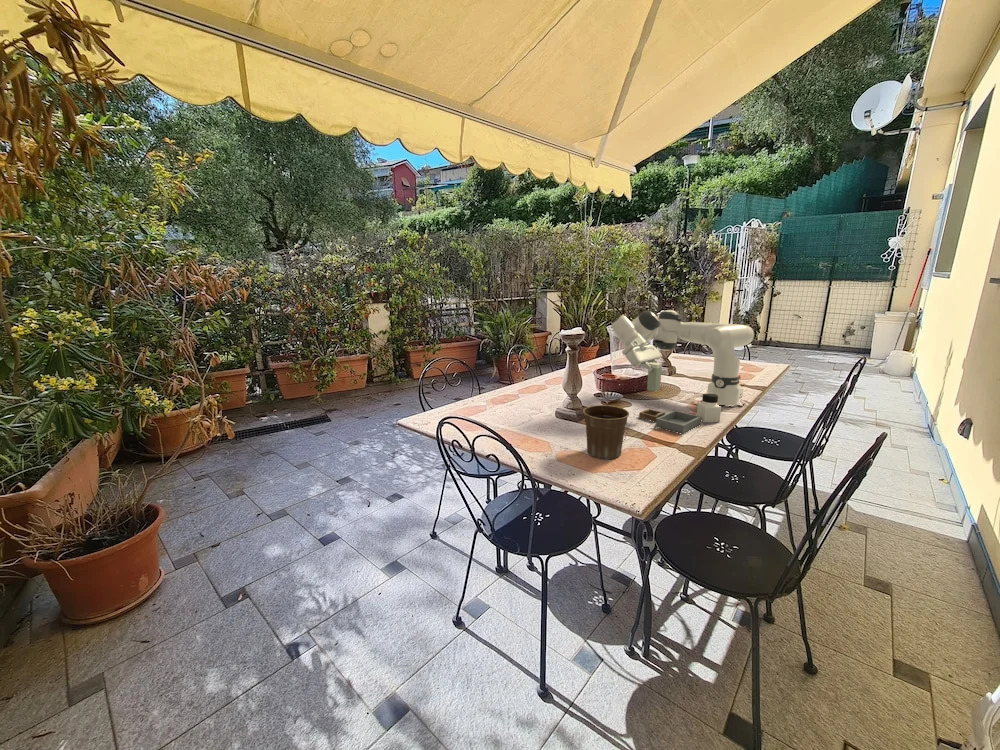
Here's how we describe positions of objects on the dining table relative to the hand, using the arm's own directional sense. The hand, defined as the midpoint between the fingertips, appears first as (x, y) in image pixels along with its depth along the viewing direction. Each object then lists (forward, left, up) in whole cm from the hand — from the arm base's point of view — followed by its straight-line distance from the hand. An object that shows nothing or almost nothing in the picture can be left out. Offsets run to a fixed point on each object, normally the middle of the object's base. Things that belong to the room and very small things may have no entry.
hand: (655, 369), depth 183 cm
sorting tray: (+1, +13, -23) cm, 26 cm away
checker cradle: (0, 0, -23) cm, 22 cm away
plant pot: (+47, +8, -23) cm, 53 cm away
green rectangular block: (0, 0, -9) cm, 9 cm away
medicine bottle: (-16, +18, -23) cm, 33 cm away
